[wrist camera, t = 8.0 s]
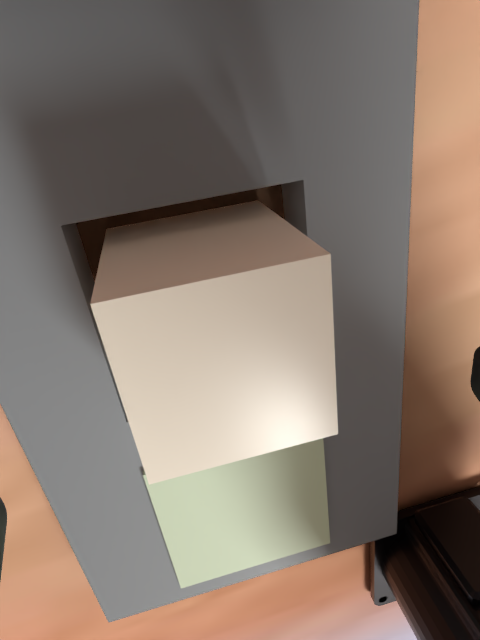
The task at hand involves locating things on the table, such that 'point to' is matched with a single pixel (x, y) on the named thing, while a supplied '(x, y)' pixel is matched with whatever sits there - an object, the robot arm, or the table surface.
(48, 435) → the board
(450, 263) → the table surface
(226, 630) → the table surface
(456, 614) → the robot arm
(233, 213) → the block
